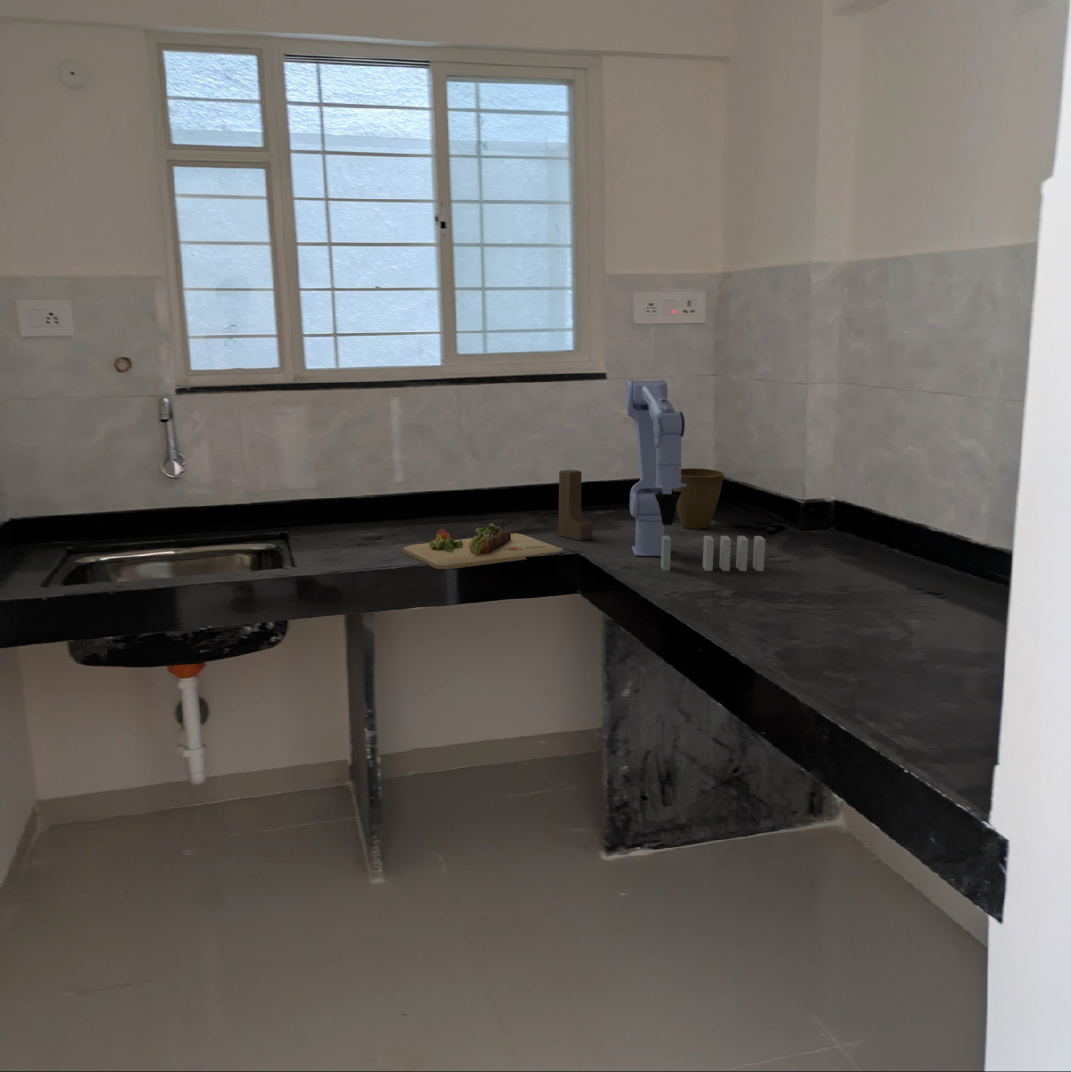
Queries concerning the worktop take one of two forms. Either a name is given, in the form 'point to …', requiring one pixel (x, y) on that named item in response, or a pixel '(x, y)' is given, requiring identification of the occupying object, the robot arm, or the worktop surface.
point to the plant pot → (698, 496)
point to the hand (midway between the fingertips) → (668, 523)
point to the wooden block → (572, 507)
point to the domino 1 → (665, 553)
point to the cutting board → (478, 549)
